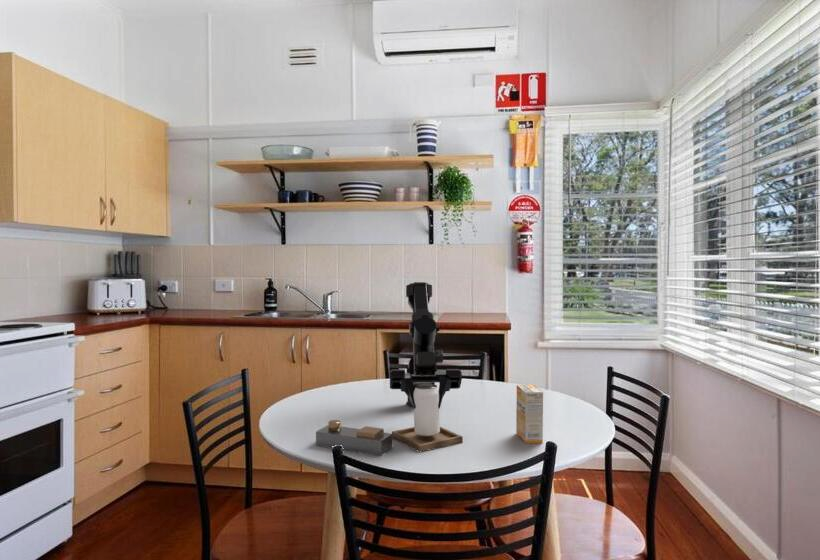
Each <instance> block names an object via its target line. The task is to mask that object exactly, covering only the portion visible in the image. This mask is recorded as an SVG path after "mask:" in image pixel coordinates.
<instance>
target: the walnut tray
mask: <svg viewBox="0 0 820 560" xmlns="http://www.w3.org/2000/svg"><path fill="white" fill-rule="evenodd" d="M391 434H392V439H395V440H397V441H398V442H400V443H402V444H403V443H404V445H405V444H406V445H405V446H407V445H408V446H407V447H409V448H411V447H412V448H411V449H413V448H414V449H413V450H415V449H416V450H418V451H419V452H418V451H417V452H418V453H421V452H420V451H422V452H425V451H424V450H427V451H429V450H428V449H431V450H434V449H433V448H436V449H439V448H438V447H440V448H443V447H442V446H445V447H448V445H449V446H454V445H457V444H462V443H463V442H464V441H463V440H464V439H463V435H460V434H458V433H455V432H454V431H451V430H449V429H446V428H444V427H442V426H440V432H439V433H438V434H437V435H435V436H419V435H417V434H416V433H415V430H414V426H412V427H408V428H402V429H398V430H397V429H396V430H392V431H391ZM416 450H415V451H416Z"/></svg>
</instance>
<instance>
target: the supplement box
mask: <svg viewBox="0 0 820 560" xmlns="http://www.w3.org/2000/svg"><path fill="white" fill-rule="evenodd" d="M515 417H516V420H515V421H516V424H515V425H516V427H515V430H516V434H517V436H519V437H520V439H522V441H523V442H524V443H525V444H542V443H543V442H544V441H543V440H544V439H543V435H544V433H543V430H544V429H543V427H544V421H543V420H544V391H542V390H541V389H540V388H539V387H537V386H536V385H534V384H516V416H515Z"/></svg>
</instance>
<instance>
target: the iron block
mask: <svg viewBox="0 0 820 560" xmlns="http://www.w3.org/2000/svg"><path fill="white" fill-rule="evenodd" d="M341 425H342V423H341V420H339V419H332V420H329V421H328V424H327V425H326V426H323V427H322V428H320V429H317V430H316V431H315V446H317V447H322V448H329V449H333V448H332V446H335V445H342V446H343V448H344V450H343V451H347V452H348V451H349V452H353V451H355V452H354V453H359V452H361V453H360V454H367V455H371V454H372V456H379V457H382V456H384V455H385V454H386V453H388V452H389V451H390V450H392V449H393V438H392V432H391V433H390V432H385V431H384V428H380V427H374V426H368V425H367V426H366V425H365V426H364V427H362V428H355V427H347V426H341ZM387 451H388V452H387ZM384 453H385V454H384ZM383 454H384V455H383Z"/></svg>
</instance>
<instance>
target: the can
mask: <svg viewBox="0 0 820 560" xmlns="http://www.w3.org/2000/svg"><path fill="white" fill-rule="evenodd" d="M414 402H415V406H416V408H415V409H414V408H413V423H414V424H413V425H414V426H413V427H414V430H415V433H416V434H417V435H419V436H435V435H437V434H438V433H439V432H440V427H441V425H440V422H441V420H440V418H441V417H440V409H439V408H438V404H439V388H438V385H436V383H435V384H419V385H416V386H415V390H414Z"/></svg>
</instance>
